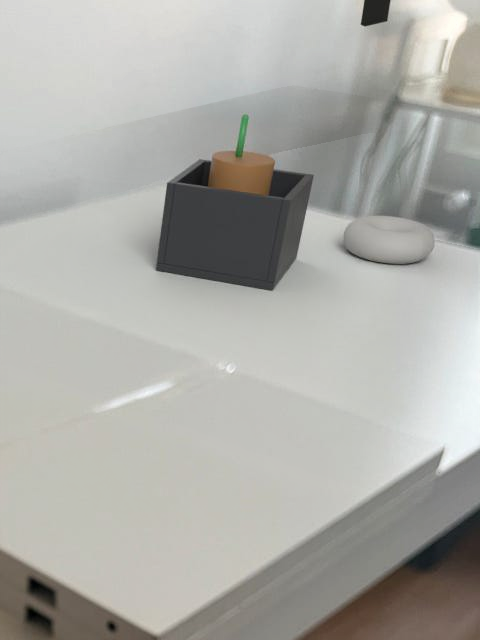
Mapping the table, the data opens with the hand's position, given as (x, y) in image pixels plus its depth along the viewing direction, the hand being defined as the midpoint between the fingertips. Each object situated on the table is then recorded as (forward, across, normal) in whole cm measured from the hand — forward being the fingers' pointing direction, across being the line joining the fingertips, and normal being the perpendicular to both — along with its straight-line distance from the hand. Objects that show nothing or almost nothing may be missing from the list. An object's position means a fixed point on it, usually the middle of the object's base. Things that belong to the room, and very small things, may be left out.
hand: (332, 7), depth 103 cm
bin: (+25, +4, -6) cm, 26 cm away
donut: (+22, -15, 0) cm, 27 cm away
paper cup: (+24, +4, -6) cm, 25 cm away
